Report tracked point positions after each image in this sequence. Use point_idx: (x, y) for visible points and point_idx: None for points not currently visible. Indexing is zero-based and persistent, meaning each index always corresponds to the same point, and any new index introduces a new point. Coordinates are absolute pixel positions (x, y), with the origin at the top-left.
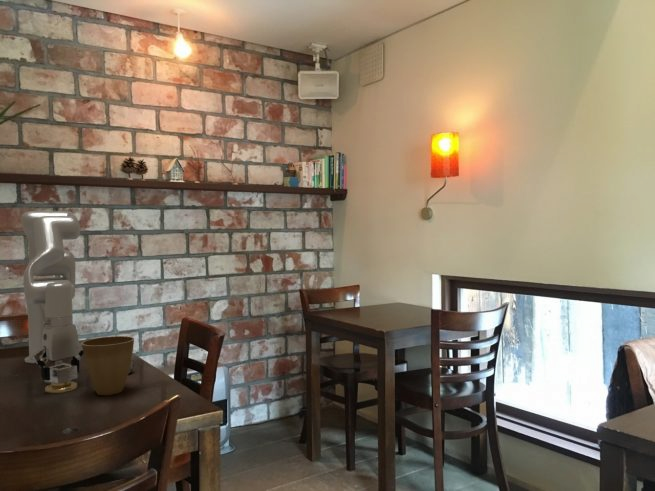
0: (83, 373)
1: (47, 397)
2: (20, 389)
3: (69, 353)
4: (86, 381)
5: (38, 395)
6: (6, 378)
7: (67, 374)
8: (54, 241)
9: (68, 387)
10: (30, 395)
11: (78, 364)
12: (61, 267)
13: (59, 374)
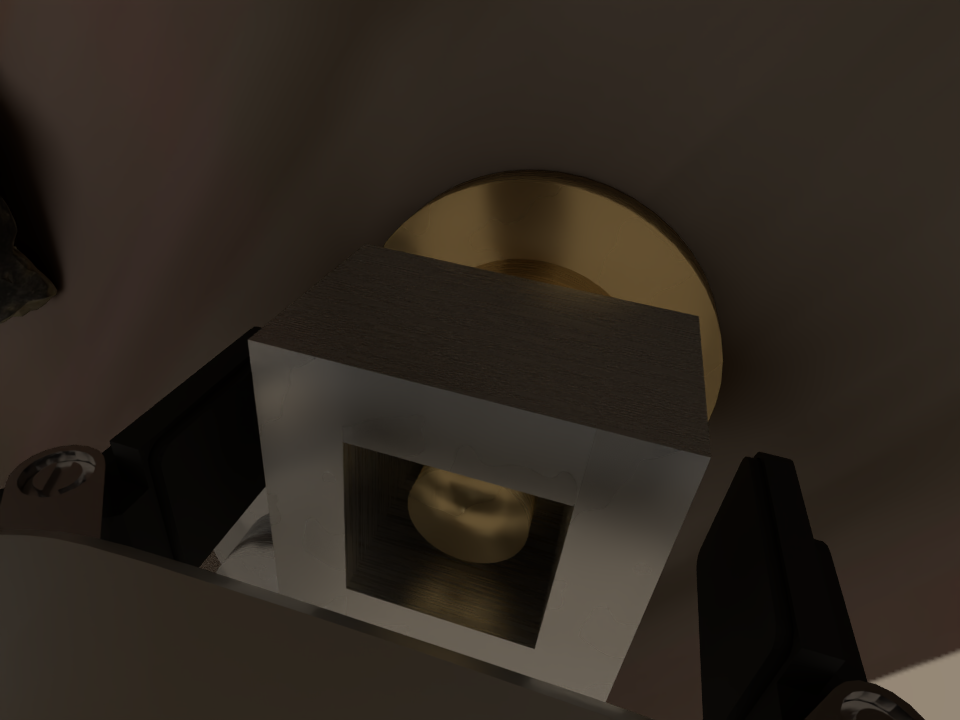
0: None
1: (910, 250)
2: (664, 662)
3: (181, 690)
4: (228, 286)
5: (827, 419)
6: None
7: (503, 324)
8: None
9: (554, 221)
10: (838, 496)
11: (176, 395)
12: None
13: (662, 388)
